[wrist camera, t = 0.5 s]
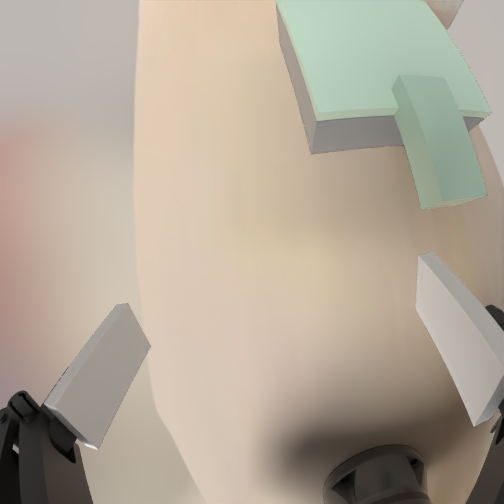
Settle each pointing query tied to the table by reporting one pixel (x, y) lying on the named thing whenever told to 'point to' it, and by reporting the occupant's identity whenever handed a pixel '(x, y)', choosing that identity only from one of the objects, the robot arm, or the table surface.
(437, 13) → the planter
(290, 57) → the tub
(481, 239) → the table surface
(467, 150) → the lid
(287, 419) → the table surface
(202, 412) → the table surface
